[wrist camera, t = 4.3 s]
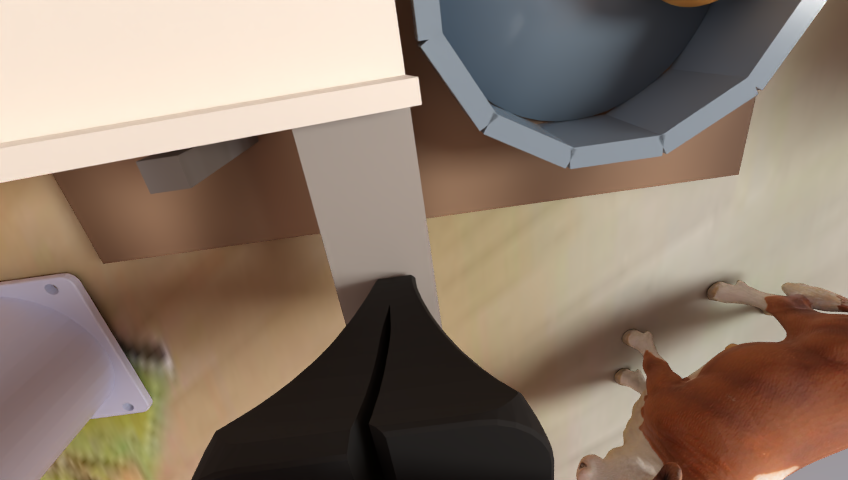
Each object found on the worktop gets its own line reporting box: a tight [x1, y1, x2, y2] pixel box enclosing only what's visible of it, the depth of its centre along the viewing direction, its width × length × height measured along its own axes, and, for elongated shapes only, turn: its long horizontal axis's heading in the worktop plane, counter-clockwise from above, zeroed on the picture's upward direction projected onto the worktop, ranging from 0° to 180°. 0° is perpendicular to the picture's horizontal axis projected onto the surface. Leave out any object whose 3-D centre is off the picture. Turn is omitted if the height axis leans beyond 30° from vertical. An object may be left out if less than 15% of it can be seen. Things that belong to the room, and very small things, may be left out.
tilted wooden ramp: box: [0, 0, 442, 328], centre depth 10 cm, size 12×13×3 cm
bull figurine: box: [576, 280, 848, 480], centre depth 17 cm, size 4×13×8 cm, turn 120°
